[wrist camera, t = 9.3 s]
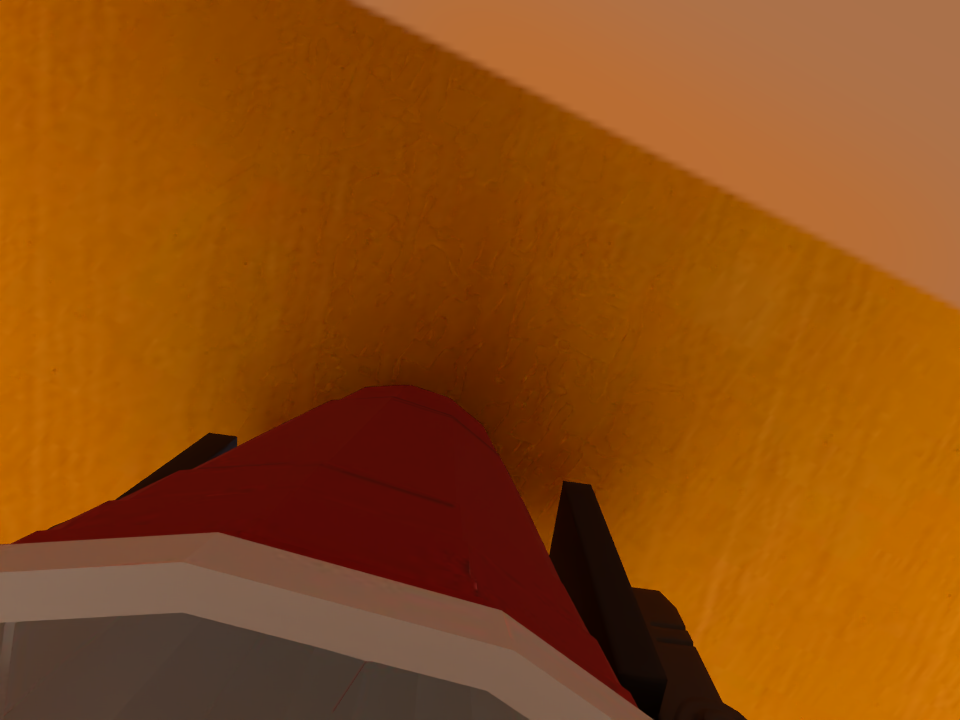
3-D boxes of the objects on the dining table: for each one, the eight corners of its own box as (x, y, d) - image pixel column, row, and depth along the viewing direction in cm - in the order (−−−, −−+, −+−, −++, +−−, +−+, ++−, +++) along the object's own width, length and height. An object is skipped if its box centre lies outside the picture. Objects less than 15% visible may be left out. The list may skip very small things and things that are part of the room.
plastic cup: (294, 666, 18) (-81, 1500, 6) (167, 356, 15) (-848, 752, 4) (620, 596, 17) (908, 1411, 5) (538, 256, 15) (731, 360, 3)
